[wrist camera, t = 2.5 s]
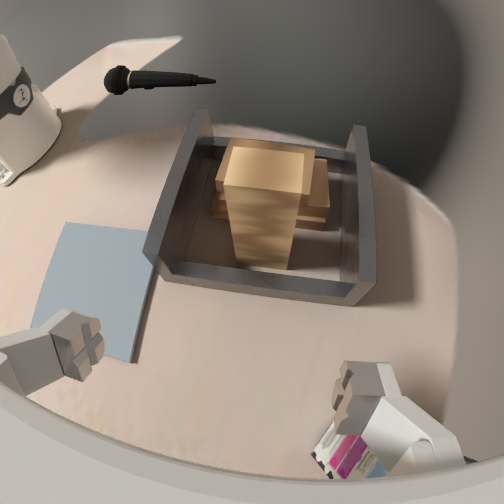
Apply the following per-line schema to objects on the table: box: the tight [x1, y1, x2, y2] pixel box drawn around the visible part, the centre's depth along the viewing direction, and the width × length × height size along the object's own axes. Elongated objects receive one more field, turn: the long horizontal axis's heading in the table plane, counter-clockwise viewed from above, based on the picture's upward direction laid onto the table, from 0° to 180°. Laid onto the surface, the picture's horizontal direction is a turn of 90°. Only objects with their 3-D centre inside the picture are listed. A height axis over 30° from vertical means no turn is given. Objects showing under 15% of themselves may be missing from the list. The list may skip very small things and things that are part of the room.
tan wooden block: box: [223, 146, 304, 270], centre depth 26 cm, size 5×4×13 cm
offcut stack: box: [210, 137, 330, 231], centre depth 32 cm, size 12×7×6 cm, turn 82°
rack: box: [142, 109, 377, 307], centre depth 30 cm, size 19×18×7 cm
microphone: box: [104, 65, 216, 95], centre depth 44 cm, size 6×6×20 cm
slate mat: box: [30, 222, 155, 363], centre depth 30 cm, size 14×14×1 cm
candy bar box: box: [311, 420, 478, 479], centre depth 15 cm, size 11×5×16 cm, turn 57°
